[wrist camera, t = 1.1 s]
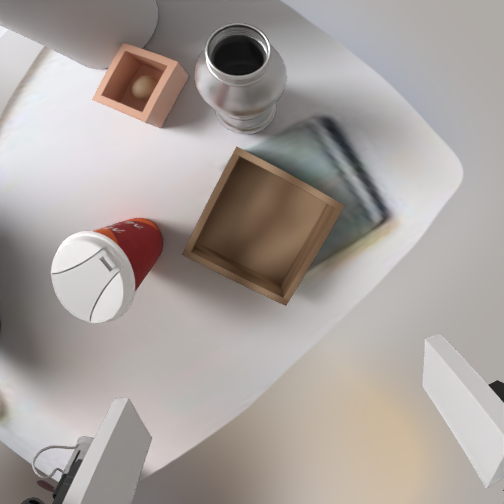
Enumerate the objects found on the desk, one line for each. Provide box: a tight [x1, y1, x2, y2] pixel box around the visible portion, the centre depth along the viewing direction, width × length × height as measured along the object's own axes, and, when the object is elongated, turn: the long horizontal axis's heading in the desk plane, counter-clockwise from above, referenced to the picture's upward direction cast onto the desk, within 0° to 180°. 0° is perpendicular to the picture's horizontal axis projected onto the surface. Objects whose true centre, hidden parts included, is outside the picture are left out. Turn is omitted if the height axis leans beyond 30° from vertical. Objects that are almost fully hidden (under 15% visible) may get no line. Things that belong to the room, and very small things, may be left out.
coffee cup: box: [51, 218, 163, 323], centre depth 31 cm, size 8×8×15 cm
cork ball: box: [132, 75, 157, 101], centre depth 32 cm, size 3×3×3 cm
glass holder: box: [32, 436, 94, 499], centre depth 42 cm, size 9×14×15 cm, turn 40°
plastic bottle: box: [194, 23, 287, 134], centre depth 25 cm, size 6×7×20 cm
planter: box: [92, 43, 189, 128], centre depth 31 cm, size 7×7×6 cm
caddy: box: [182, 147, 344, 306], centre depth 35 cm, size 12×12×5 cm
